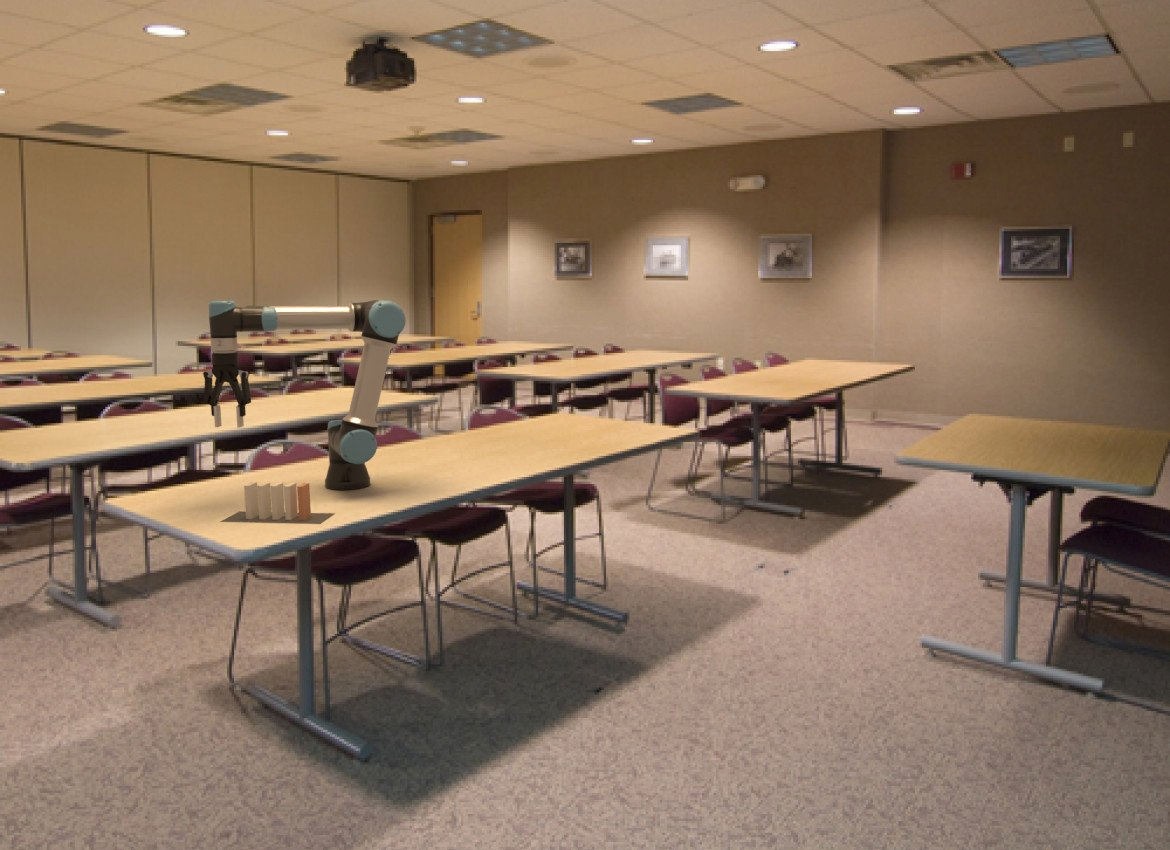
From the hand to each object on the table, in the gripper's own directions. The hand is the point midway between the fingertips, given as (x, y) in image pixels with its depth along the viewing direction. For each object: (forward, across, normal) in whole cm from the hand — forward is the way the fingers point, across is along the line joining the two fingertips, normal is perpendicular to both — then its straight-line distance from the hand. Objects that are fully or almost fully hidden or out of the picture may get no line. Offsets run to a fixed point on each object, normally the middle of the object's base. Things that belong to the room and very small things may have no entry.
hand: (229, 426), depth 278 cm
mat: (+25, +21, -14) cm, 35 cm away
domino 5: (+25, +29, -14) cm, 40 cm away
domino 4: (+25, +25, -14) cm, 38 cm away
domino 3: (+25, +21, -14) cm, 35 cm away
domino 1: (+25, +13, -14) cm, 31 cm away
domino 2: (+25, +17, -14) cm, 33 cm away
